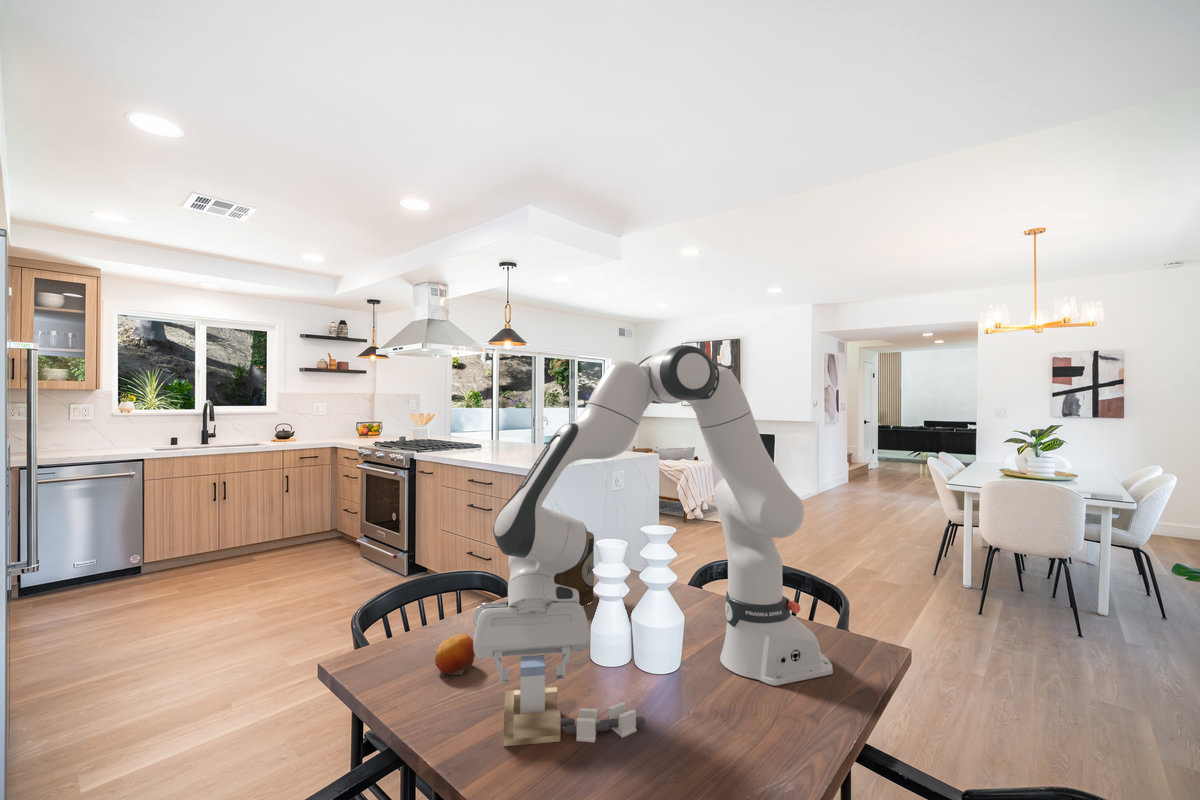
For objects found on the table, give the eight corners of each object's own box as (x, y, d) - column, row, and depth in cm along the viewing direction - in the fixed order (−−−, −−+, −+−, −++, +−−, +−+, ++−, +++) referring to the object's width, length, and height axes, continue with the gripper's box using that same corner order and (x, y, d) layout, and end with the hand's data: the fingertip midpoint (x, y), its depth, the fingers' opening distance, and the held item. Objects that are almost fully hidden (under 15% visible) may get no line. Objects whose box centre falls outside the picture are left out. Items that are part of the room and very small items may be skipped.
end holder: (556, 709, 95) (556, 687, 95) (560, 741, 86) (560, 716, 86) (505, 713, 94) (505, 690, 94) (503, 746, 85) (503, 720, 85)
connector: (543, 713, 92) (543, 654, 92) (544, 726, 88) (545, 666, 88) (520, 715, 91) (520, 656, 92) (520, 728, 88) (520, 667, 88)
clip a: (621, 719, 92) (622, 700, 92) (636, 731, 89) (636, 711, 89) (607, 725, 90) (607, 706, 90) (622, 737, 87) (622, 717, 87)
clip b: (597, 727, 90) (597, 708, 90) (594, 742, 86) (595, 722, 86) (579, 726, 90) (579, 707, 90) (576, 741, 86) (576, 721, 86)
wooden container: (599, 607, 143) (599, 525, 143) (544, 612, 140) (544, 528, 140) (587, 589, 158) (588, 514, 158) (537, 593, 154) (538, 516, 154)
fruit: (469, 676, 104) (451, 637, 105) (439, 691, 106) (422, 653, 107) (491, 658, 111) (474, 622, 113) (463, 672, 113) (446, 637, 115)
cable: (642, 717, 92) (642, 710, 92) (647, 728, 89) (647, 721, 89) (548, 725, 90) (548, 718, 90) (549, 737, 86) (549, 729, 86)
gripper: (473, 595, 96) (467, 677, 86) (586, 589, 99) (594, 668, 89) (475, 611, 100) (470, 691, 90) (583, 605, 103) (590, 682, 93)
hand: (532, 680), depth 89 cm, fingers open, 8 cm apart
